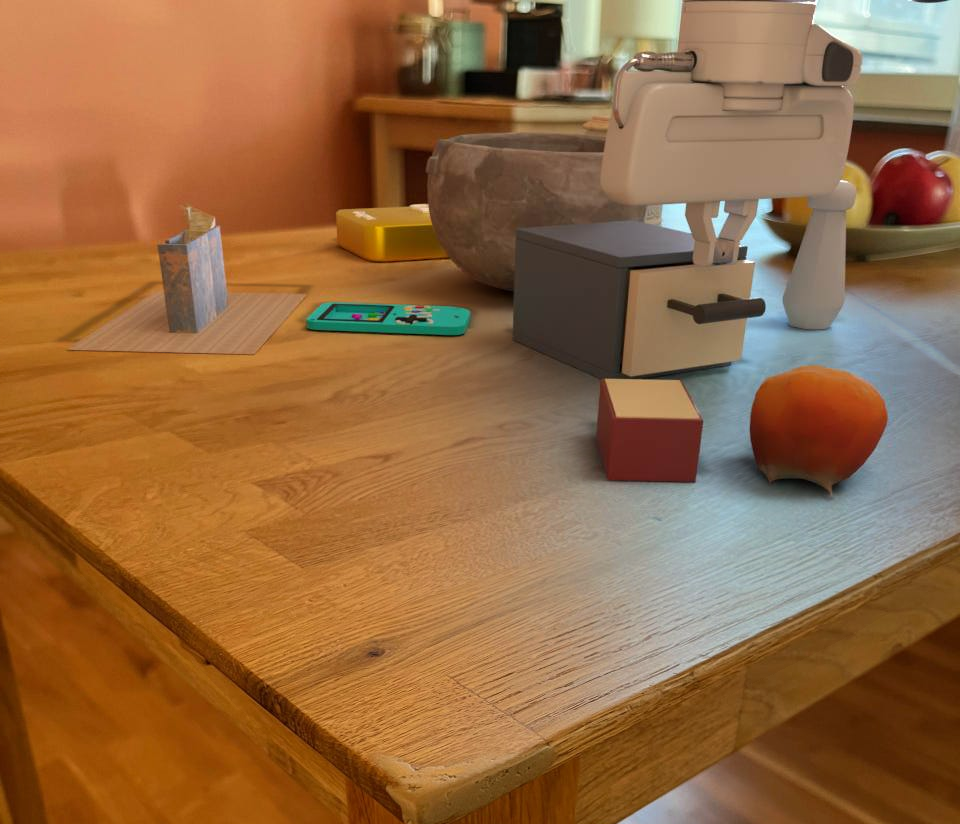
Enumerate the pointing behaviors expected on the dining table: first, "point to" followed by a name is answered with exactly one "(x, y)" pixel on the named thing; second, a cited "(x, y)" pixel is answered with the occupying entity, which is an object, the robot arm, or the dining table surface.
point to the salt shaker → (820, 262)
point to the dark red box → (648, 430)
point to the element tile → (389, 233)
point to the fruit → (815, 425)
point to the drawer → (686, 315)
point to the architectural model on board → (194, 303)
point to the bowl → (513, 195)
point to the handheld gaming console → (389, 318)
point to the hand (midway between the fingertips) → (714, 264)
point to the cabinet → (587, 288)
